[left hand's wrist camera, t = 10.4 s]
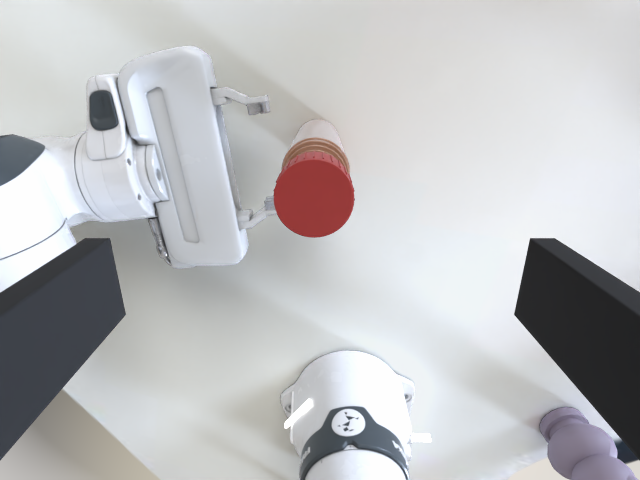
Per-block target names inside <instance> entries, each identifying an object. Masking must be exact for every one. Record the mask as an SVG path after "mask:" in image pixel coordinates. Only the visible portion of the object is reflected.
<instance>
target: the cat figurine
mask: <svg viewBox="0 0 640 480" xmlns="http://www.w3.org/2000/svg"><path fill="white" fill-rule="evenodd" d="M540 431H541V433H542V435H543V436H544V438H545V440H546V441H547V442H548V453H547V455H548V458H549V460H550V463H551V465H552V467H553V468H554V469H555V470H556V471H557V472H558V473H559V474H561V475H562V476H563V477H565V478H567V479H570V480H638V479H637V478H635V475H634V473H633V472H632V470H631V469H630V468H629V467H628V466H627V465H626V464H624V463H623V462H622V461H621V460H619V459H617V449H616V446H615V444H614V441H613V439H612V438H611V437H610V436H609V435H608V434H607V433H606V432H605V431H603V430H602V429H601V428H599V427H596V426H593V425H590V424H589V422H588V420H587V419H586V418H585V417H584V415H583V414H582V413H581V412H580V411H579V410H577V409H574V408H569V407H564V408H558V409H556V410H553V411H551V412H550V413H548V414H547V415H546V416H545V417H544V418H543V419H542V421H541V423H540Z"/></svg>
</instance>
